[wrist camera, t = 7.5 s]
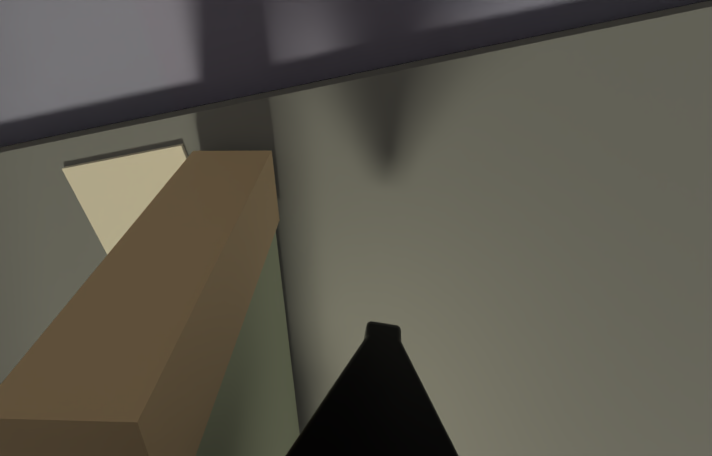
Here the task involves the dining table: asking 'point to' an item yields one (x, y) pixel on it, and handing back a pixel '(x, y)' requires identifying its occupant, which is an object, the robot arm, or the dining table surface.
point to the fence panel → (170, 332)
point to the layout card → (447, 229)
